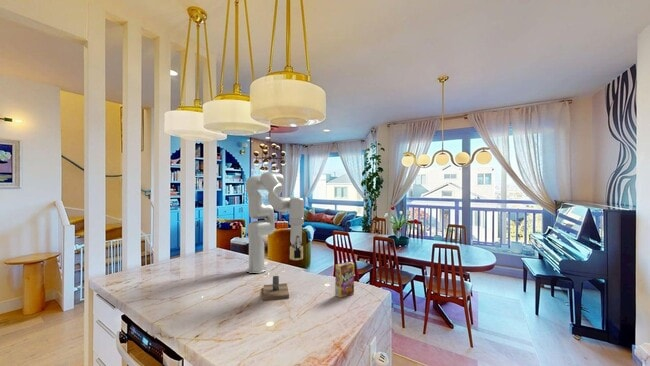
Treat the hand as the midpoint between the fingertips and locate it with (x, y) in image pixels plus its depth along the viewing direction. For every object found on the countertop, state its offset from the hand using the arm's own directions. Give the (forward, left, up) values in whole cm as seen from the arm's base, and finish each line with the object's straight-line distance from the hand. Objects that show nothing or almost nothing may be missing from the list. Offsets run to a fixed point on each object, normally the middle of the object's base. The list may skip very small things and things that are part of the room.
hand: (296, 255), depth 134 cm
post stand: (+2, -10, -17) cm, 20 cm away
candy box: (+12, +23, -18) cm, 31 cm away
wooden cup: (0, 0, -1) cm, 1 cm away
